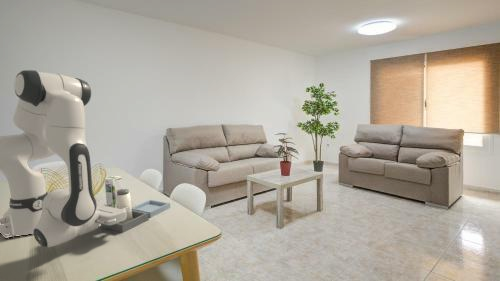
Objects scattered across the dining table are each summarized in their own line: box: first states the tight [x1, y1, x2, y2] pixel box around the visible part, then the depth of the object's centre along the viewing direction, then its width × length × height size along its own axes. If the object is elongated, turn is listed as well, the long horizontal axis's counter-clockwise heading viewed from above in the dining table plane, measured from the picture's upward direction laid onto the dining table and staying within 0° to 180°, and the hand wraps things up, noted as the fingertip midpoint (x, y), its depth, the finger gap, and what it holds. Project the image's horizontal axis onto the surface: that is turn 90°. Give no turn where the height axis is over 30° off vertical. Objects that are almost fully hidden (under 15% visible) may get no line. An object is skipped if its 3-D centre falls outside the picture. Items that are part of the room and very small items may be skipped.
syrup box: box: [104, 175, 124, 208], centre depth 135 cm, size 6×6×14 cm
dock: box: [100, 210, 150, 234], centre depth 114 cm, size 13×13×3 cm
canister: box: [116, 188, 133, 224], centre depth 114 cm, size 6×6×14 cm
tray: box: [131, 199, 171, 218], centre depth 128 cm, size 13×13×2 cm
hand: (120, 206), depth 112 cm, fingers open, 8 cm apart
